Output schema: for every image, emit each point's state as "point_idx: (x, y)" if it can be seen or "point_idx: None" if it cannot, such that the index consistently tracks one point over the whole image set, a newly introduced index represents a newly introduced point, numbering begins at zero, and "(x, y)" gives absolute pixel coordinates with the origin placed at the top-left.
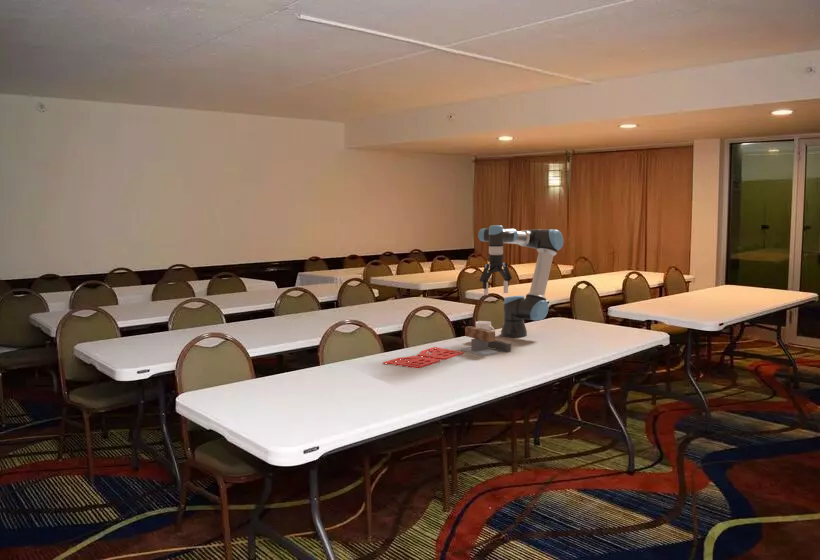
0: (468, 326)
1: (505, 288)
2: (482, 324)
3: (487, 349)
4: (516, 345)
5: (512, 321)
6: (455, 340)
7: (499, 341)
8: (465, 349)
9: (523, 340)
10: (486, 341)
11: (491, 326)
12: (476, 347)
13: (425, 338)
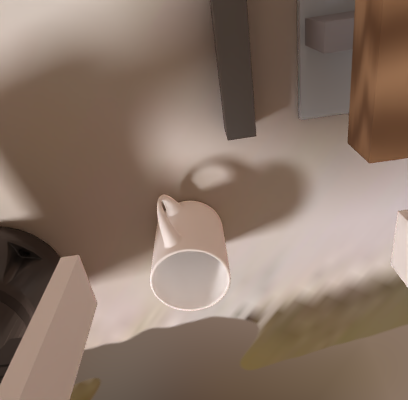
0: (393, 157)
1: (71, 320)
2: (214, 251)
3: (311, 13)
4: (97, 75)
5: (2, 293)
6: (281, 276)
7: (224, 43)
8: None
9: (12, 163)
10: (330, 18)
11: (168, 232)
12: None
13: (348, 338)
